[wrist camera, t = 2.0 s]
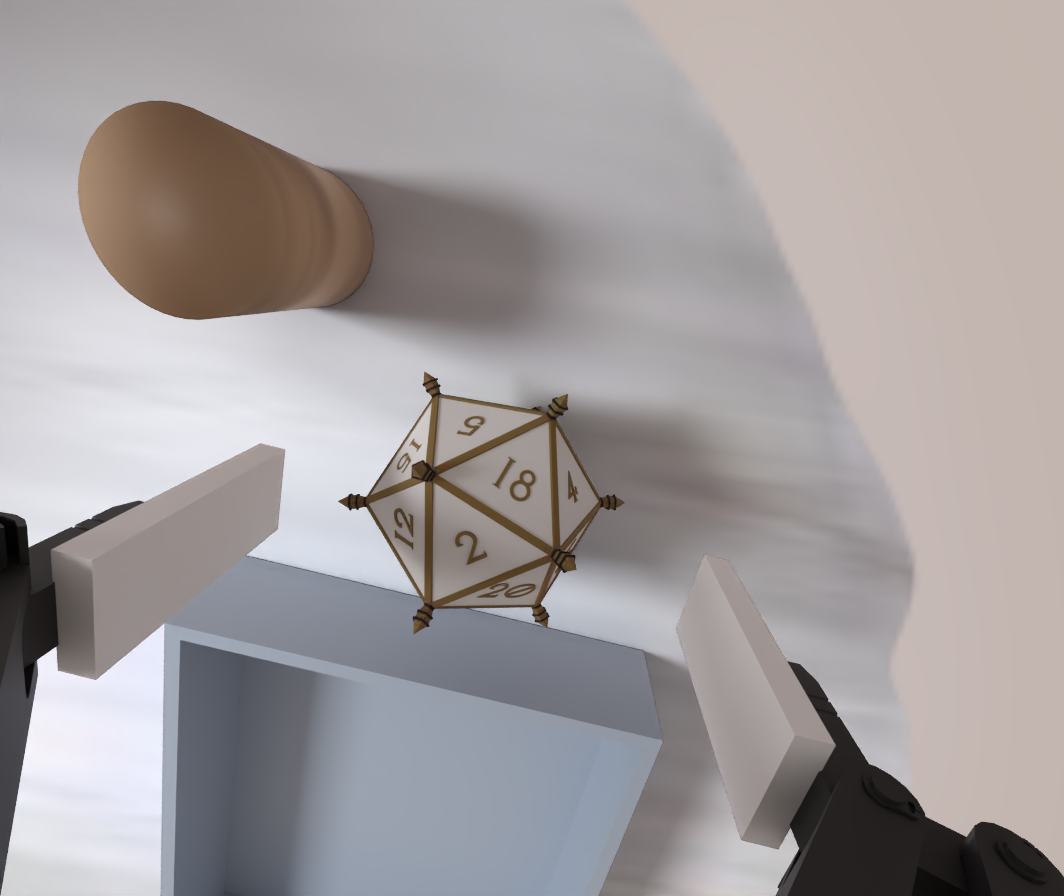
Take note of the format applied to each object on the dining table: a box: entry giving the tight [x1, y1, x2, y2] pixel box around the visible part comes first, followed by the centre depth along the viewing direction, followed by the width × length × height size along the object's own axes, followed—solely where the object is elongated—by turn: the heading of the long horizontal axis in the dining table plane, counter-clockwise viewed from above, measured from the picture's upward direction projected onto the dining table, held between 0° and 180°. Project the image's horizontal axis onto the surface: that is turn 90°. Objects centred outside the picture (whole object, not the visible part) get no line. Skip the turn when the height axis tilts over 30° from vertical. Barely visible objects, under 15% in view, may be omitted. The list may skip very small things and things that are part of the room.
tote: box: [161, 556, 663, 896], centre depth 25 cm, size 19×23×5 cm
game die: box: [338, 372, 624, 635], centre depth 18 cm, size 9×8×10 cm
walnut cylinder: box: [78, 101, 373, 320], centre depth 16 cm, size 5×5×7 cm
